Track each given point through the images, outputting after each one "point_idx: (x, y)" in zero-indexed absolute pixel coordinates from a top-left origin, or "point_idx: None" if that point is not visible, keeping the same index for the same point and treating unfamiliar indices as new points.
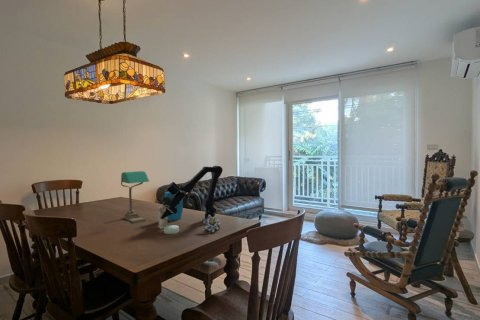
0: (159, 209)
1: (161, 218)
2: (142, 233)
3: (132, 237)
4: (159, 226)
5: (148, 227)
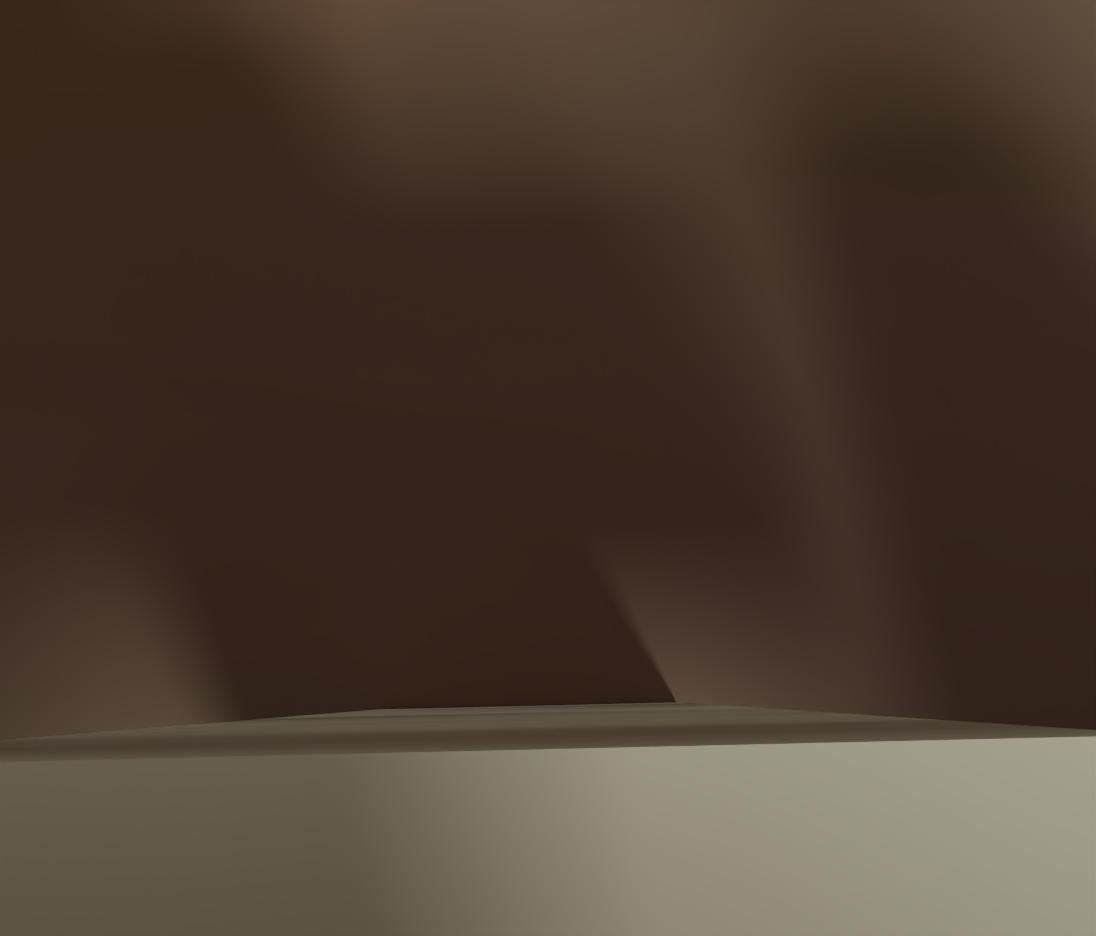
0: (68, 752)
1: None
2: (166, 59)
3: None
4: (524, 706)
5: (814, 328)
